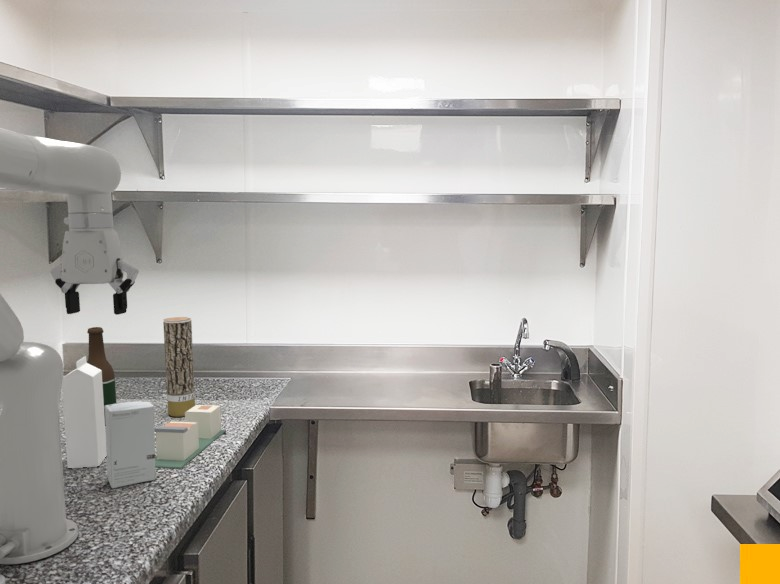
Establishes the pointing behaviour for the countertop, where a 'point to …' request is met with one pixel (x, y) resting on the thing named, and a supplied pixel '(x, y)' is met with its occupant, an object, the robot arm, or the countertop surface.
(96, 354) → the beer bottle
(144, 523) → the countertop surface
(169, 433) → the lidded cream box
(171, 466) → the mat
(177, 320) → the paper tube
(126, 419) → the skincare box
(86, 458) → the milk
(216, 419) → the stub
